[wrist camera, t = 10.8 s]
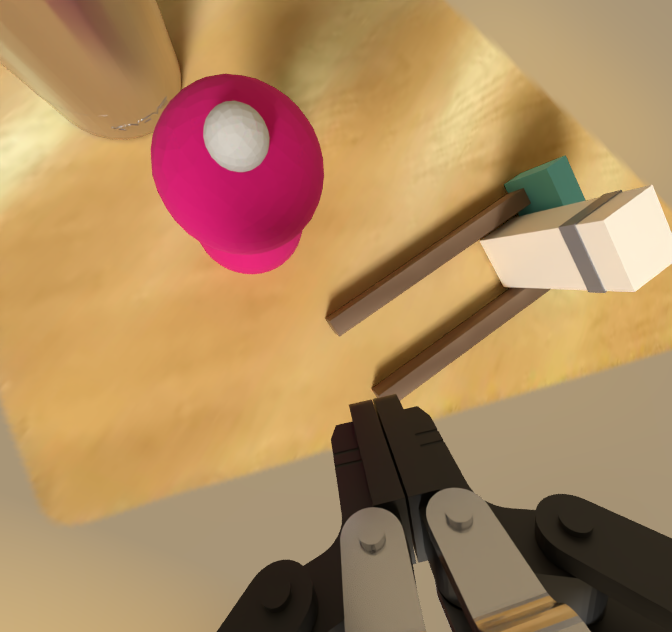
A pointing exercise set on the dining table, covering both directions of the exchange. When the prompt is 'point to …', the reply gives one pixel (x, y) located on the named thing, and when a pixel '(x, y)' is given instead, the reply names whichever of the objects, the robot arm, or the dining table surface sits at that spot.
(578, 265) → the sleeve
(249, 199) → the pepper mill
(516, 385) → the dining table surface
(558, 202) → the teal rectangular block
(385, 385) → the guide rails
